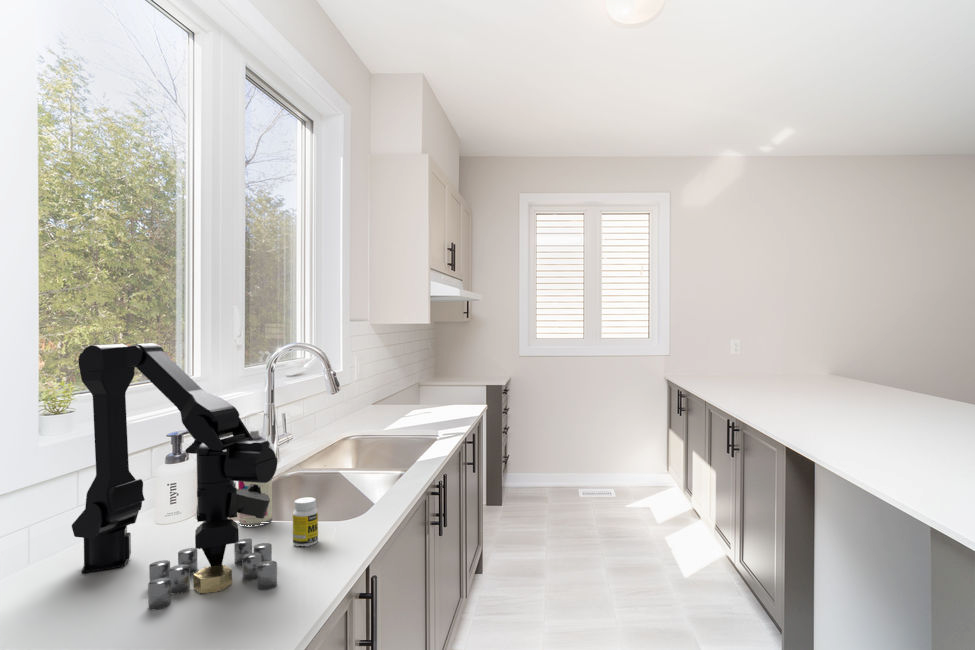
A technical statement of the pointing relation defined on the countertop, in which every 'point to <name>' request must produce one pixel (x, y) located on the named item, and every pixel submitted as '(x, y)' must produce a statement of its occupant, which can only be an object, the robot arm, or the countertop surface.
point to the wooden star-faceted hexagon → (212, 579)
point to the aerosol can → (265, 489)
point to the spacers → (179, 576)
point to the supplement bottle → (305, 522)
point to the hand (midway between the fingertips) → (217, 570)
